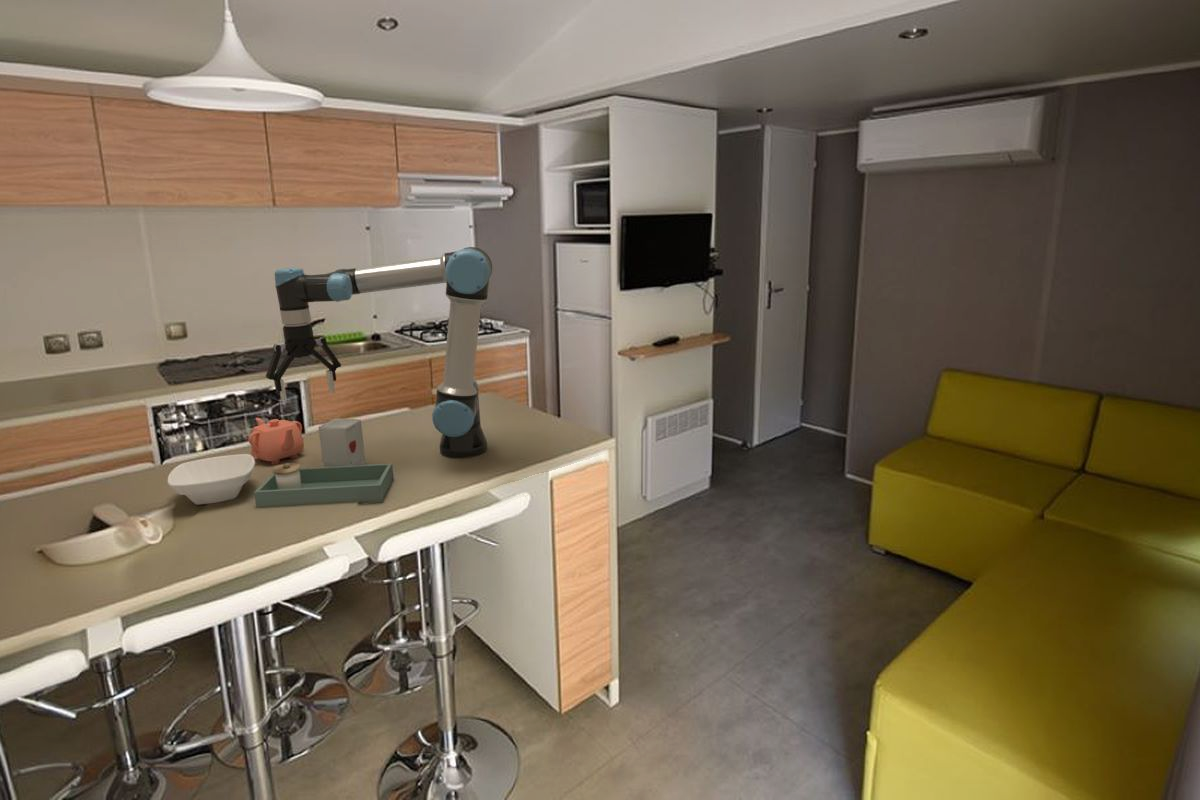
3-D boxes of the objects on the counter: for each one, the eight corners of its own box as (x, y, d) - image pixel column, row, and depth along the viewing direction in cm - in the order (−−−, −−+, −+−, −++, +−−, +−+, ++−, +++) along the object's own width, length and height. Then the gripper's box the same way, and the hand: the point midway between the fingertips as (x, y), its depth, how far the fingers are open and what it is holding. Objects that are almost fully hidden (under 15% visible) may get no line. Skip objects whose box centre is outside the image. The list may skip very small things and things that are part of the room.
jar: (305, 488, 187) (301, 464, 185) (298, 497, 181) (294, 473, 179) (283, 489, 186) (279, 466, 184) (275, 498, 180) (271, 474, 178)
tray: (393, 479, 194) (392, 463, 192) (382, 502, 178) (380, 485, 177) (278, 486, 191) (276, 469, 189) (256, 510, 175) (253, 492, 174)
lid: (303, 464, 185) (303, 459, 185) (295, 473, 179) (294, 468, 178) (278, 465, 185) (277, 460, 184) (269, 475, 178) (268, 469, 178)
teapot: (298, 465, 206) (292, 426, 203) (242, 468, 205) (235, 428, 202) (313, 448, 221) (308, 412, 217) (261, 451, 219) (255, 414, 216)
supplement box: (351, 476, 197) (344, 428, 193) (323, 474, 198) (316, 426, 194) (367, 465, 205) (361, 418, 201) (340, 463, 207) (334, 417, 203)
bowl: (167, 520, 171) (161, 489, 168) (180, 490, 189) (174, 462, 187) (257, 505, 179) (252, 475, 176) (261, 478, 197) (256, 450, 195)
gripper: (335, 317, 199) (345, 386, 205) (245, 329, 183) (258, 403, 189) (346, 319, 194) (356, 390, 199) (253, 332, 178) (267, 408, 183)
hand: (308, 397), depth 194 cm, fingers open, 13 cm apart
